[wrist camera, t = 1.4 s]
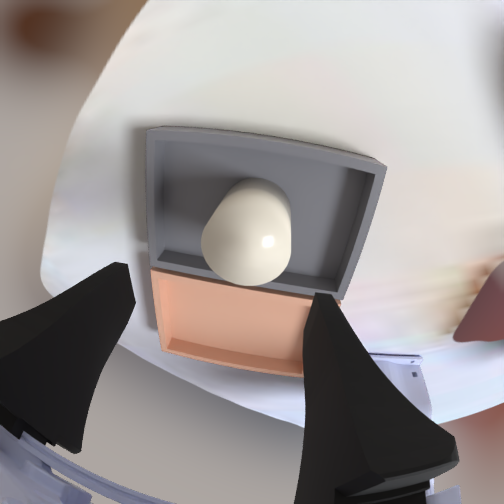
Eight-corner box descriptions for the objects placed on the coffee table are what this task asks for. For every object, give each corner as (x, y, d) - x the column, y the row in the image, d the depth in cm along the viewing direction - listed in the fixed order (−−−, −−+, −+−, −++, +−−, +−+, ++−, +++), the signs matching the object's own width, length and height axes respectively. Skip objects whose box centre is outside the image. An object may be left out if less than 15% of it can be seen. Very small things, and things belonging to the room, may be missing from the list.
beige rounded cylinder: (296, 184, 16) (299, 215, 12) (284, 246, 19) (281, 292, 14) (225, 173, 16) (203, 199, 12) (220, 235, 19) (199, 277, 14)
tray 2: (336, 283, 21) (341, 304, 19) (306, 358, 26) (306, 378, 24) (163, 252, 21) (150, 270, 19) (169, 332, 26) (161, 350, 24)
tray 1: (374, 158, 16) (387, 166, 14) (338, 279, 21) (342, 300, 18) (163, 125, 16) (146, 129, 14) (162, 248, 21) (149, 265, 19)
